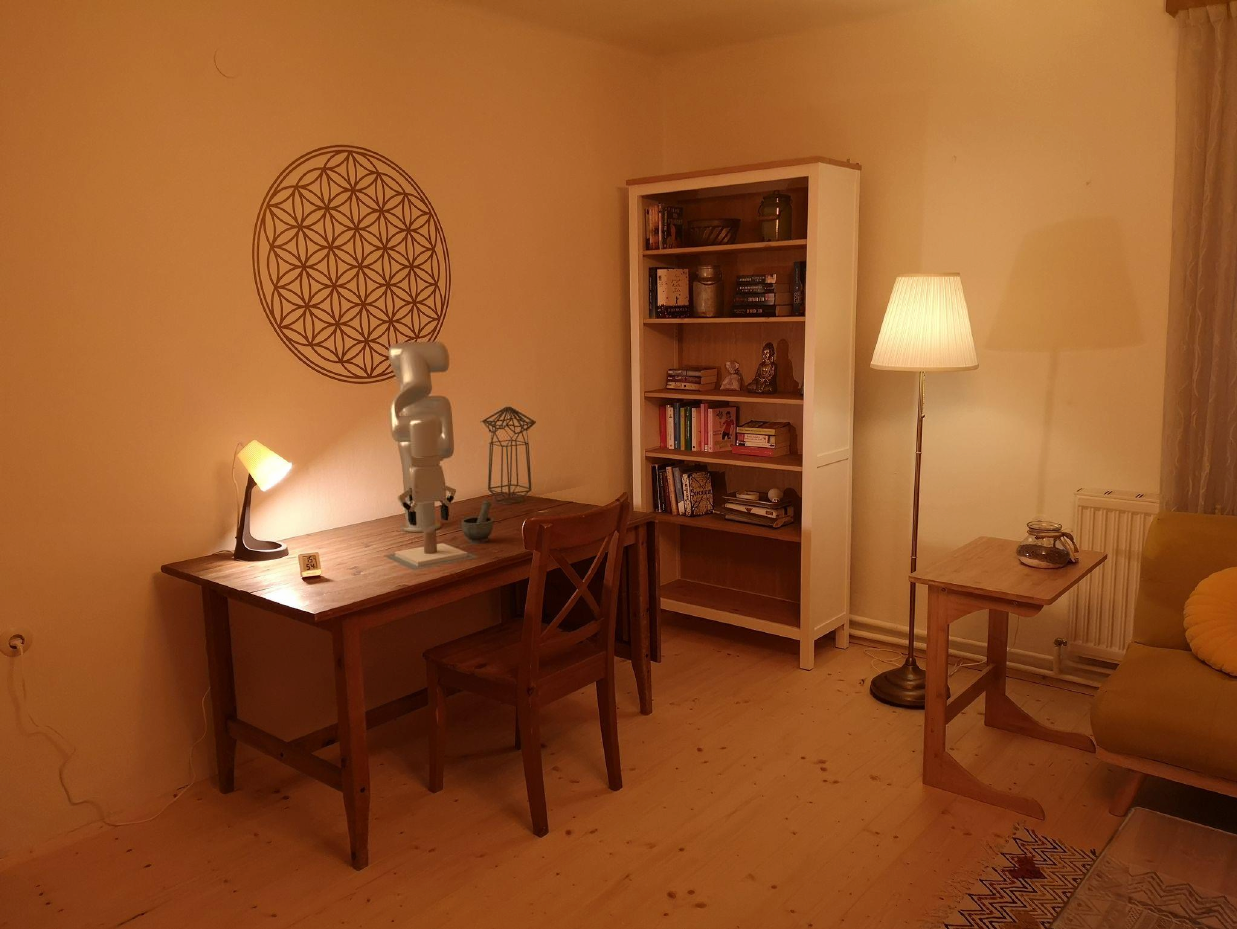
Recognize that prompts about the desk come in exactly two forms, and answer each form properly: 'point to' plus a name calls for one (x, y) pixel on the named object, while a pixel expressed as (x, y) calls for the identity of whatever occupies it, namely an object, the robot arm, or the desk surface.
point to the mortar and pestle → (478, 525)
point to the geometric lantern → (532, 422)
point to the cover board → (432, 558)
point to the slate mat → (414, 567)
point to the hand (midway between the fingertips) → (429, 522)
